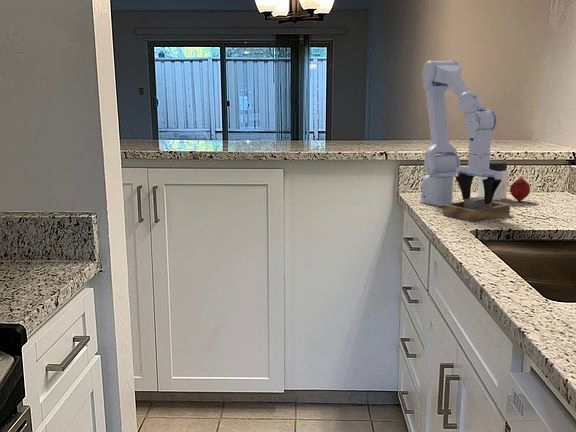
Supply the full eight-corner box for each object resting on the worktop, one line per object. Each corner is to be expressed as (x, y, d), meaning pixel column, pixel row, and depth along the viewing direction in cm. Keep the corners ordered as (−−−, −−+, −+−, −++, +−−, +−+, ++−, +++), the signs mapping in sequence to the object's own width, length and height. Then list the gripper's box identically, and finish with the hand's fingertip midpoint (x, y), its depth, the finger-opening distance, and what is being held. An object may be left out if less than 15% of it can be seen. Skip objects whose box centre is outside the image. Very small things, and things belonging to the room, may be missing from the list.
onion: (530, 203, 182) (532, 177, 181) (511, 202, 183) (513, 177, 182) (527, 199, 188) (528, 175, 186) (508, 199, 189) (509, 175, 187)
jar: (497, 201, 186) (499, 164, 183) (473, 198, 192) (475, 162, 189) (510, 197, 192) (512, 161, 190) (486, 194, 198) (488, 159, 195)
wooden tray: (443, 215, 168) (443, 204, 167) (476, 208, 176) (476, 198, 175) (475, 222, 158) (476, 211, 158) (509, 215, 166) (510, 204, 166)
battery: (463, 212, 167) (463, 199, 166) (480, 209, 171) (481, 196, 170) (473, 214, 164) (474, 200, 163) (491, 211, 168) (491, 197, 167)
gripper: (510, 155, 160) (507, 203, 162) (468, 151, 171) (466, 196, 174) (493, 157, 156) (491, 206, 159) (451, 153, 168) (449, 199, 171)
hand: (476, 201), depth 166 cm, fingers open, 7 cm apart
